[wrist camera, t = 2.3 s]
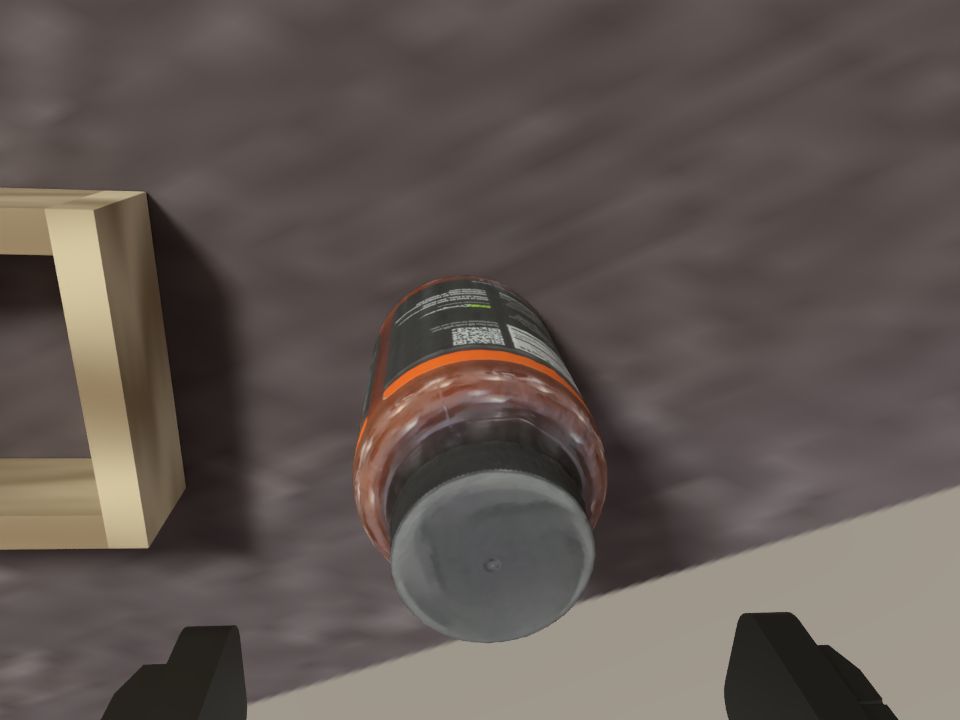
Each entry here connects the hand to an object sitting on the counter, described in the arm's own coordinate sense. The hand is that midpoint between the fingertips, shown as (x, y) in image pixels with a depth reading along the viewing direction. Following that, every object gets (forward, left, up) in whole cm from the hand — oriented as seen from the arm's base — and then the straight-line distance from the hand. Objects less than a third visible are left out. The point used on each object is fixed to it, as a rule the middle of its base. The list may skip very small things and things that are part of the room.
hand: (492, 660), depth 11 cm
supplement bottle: (0, 0, -14) cm, 14 cm away
